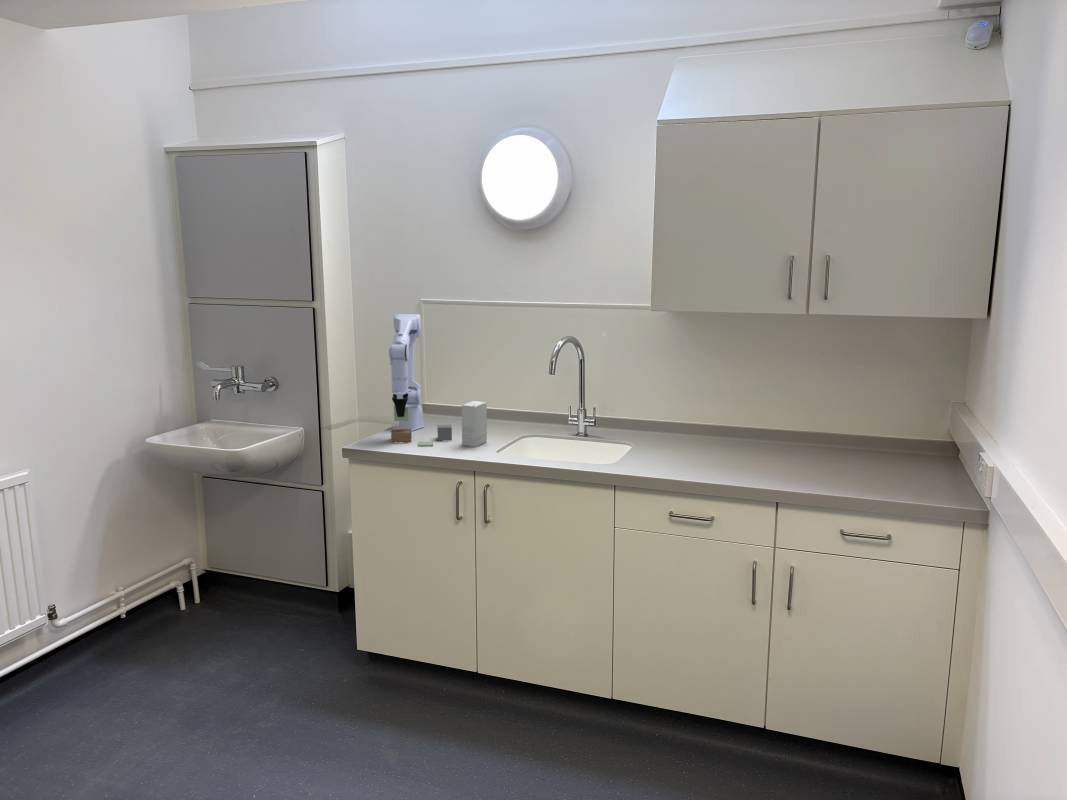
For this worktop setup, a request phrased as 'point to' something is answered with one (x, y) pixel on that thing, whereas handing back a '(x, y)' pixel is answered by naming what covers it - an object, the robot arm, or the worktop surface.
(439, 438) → the charcoal cube
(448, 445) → the worktop surface
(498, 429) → the worktop surface
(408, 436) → the walnut base
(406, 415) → the sage cube
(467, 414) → the skincare box
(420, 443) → the card
